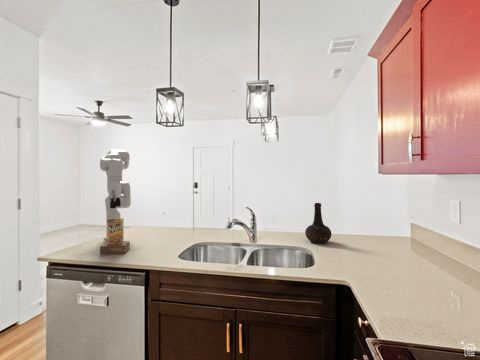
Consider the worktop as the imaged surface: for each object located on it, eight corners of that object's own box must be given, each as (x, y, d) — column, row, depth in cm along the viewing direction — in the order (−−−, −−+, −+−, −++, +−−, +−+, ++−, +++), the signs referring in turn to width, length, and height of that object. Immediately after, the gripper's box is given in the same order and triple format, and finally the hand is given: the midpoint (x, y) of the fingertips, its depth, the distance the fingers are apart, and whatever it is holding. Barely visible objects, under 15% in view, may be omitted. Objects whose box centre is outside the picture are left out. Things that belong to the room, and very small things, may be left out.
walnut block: (106, 249, 176) (106, 241, 176) (129, 248, 178) (129, 241, 178) (99, 254, 164) (99, 246, 164) (125, 254, 166) (125, 245, 166)
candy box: (106, 244, 168) (106, 219, 168) (108, 243, 172) (108, 218, 172) (122, 243, 170) (122, 218, 170) (123, 242, 175) (123, 217, 174)
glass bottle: (335, 242, 200) (335, 203, 200) (324, 246, 187) (324, 204, 187) (312, 238, 212) (312, 201, 212) (300, 242, 199) (301, 203, 199)
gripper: (113, 179, 179) (113, 205, 179) (104, 179, 162) (104, 209, 162) (125, 179, 180) (125, 205, 180) (117, 179, 163) (117, 208, 163)
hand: (115, 207), depth 171 cm, fingers open, 9 cm apart
